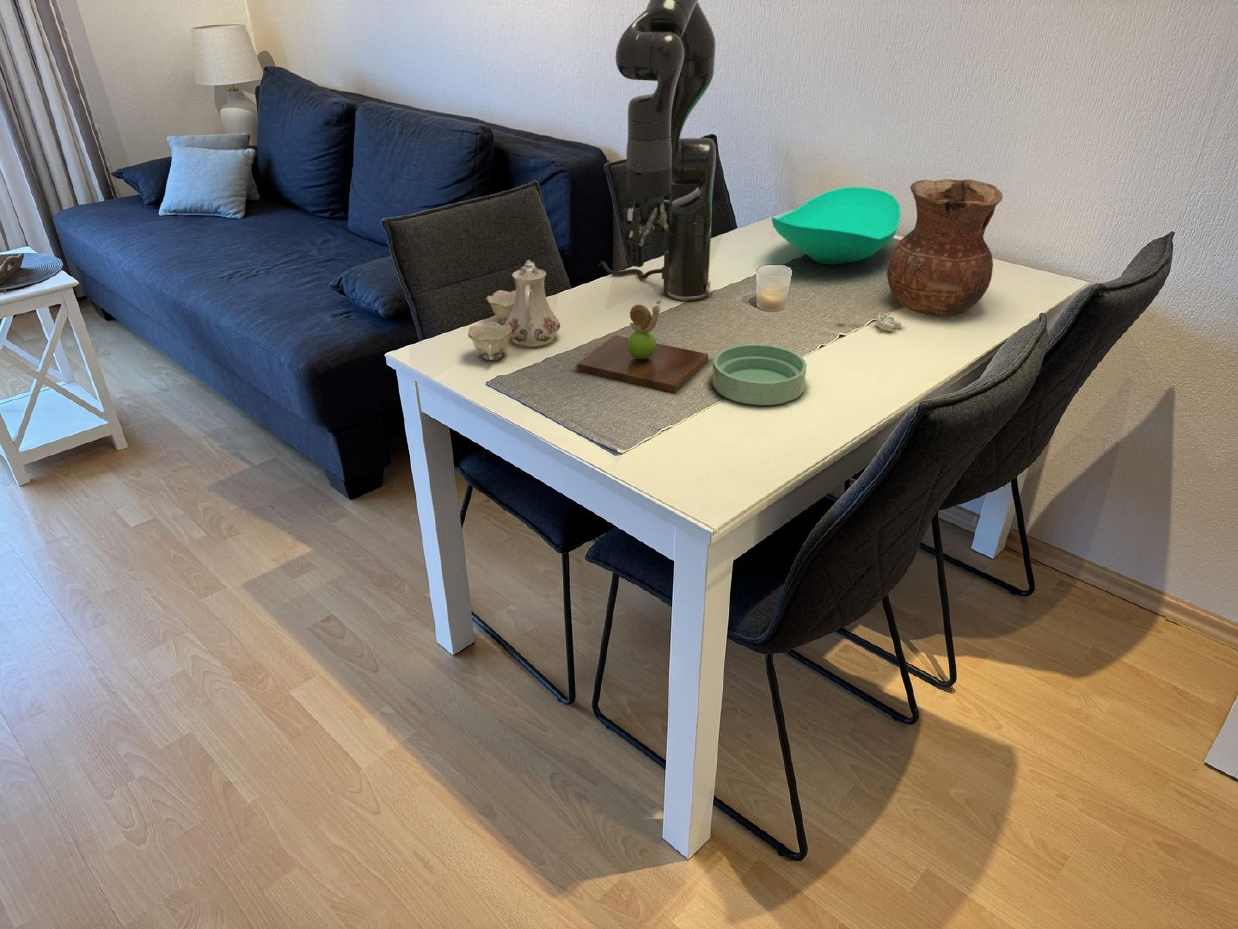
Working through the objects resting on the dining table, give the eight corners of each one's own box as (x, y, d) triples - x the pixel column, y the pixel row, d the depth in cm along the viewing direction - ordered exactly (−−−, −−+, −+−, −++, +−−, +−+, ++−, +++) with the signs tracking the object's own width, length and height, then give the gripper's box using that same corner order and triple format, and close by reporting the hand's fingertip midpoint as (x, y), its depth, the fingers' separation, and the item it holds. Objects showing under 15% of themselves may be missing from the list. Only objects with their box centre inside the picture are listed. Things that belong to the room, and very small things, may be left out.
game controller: (904, 331, 177) (906, 319, 176) (850, 336, 175) (852, 324, 174) (892, 321, 182) (894, 309, 180) (839, 325, 180) (841, 313, 179)
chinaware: (488, 319, 188) (473, 243, 180) (565, 310, 188) (553, 234, 179) (471, 376, 165) (452, 293, 156) (558, 367, 164) (545, 282, 155)
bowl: (698, 394, 154) (699, 371, 152) (732, 359, 166) (733, 337, 164) (786, 414, 148) (789, 390, 145) (815, 376, 160) (818, 354, 158)
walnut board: (577, 370, 163) (576, 363, 162) (615, 341, 174) (615, 334, 173) (674, 393, 155) (675, 385, 154) (708, 360, 166) (708, 353, 165)
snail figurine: (651, 367, 160) (652, 305, 154) (621, 360, 163) (621, 298, 157) (665, 356, 164) (667, 295, 158) (636, 349, 167) (636, 289, 161)
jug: (973, 331, 177) (1000, 207, 164) (870, 312, 186) (888, 193, 173) (992, 296, 193) (1018, 180, 180) (897, 280, 202) (915, 169, 189)
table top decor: (847, 295, 194) (855, 236, 188) (740, 270, 209) (744, 214, 202) (916, 249, 221) (925, 196, 214) (817, 230, 236) (822, 180, 229)
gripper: (648, 152, 153) (647, 243, 161) (608, 171, 142) (610, 267, 151) (687, 157, 149) (684, 249, 158) (650, 176, 139) (649, 274, 148)
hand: (648, 258), depth 154 cm, fingers open, 8 cm apart
